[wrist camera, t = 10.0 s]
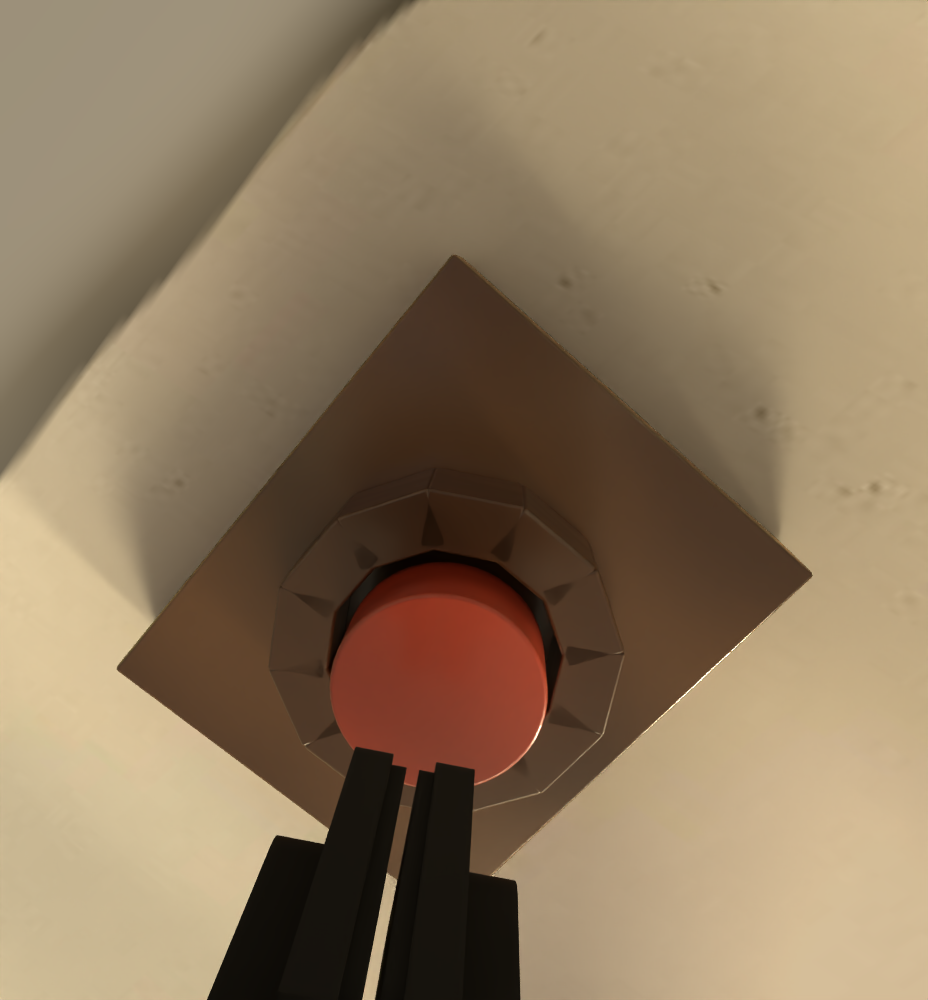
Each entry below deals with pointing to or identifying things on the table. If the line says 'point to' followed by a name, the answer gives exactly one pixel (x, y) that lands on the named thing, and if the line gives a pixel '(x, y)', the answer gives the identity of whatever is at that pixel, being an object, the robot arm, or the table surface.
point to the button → (442, 672)
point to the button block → (468, 561)
